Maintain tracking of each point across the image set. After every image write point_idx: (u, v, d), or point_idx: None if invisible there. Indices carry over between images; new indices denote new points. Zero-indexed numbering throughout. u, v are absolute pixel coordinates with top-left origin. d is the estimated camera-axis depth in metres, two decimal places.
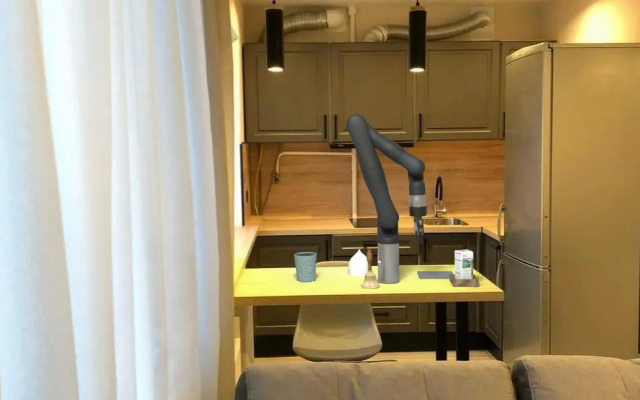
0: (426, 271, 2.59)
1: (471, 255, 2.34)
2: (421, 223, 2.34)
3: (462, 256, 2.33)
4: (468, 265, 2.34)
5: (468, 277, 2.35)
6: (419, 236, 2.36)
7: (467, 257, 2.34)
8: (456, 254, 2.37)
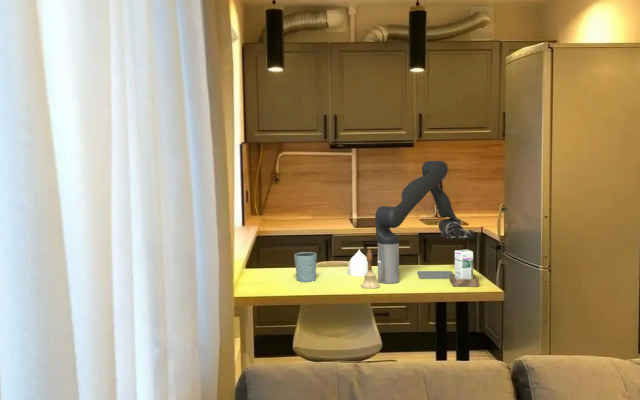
0: (426, 271, 2.59)
1: (471, 255, 2.34)
2: None
3: (462, 256, 2.33)
4: (468, 265, 2.34)
5: (468, 277, 2.35)
6: (470, 233, 2.50)
7: (467, 257, 2.34)
8: (456, 254, 2.37)
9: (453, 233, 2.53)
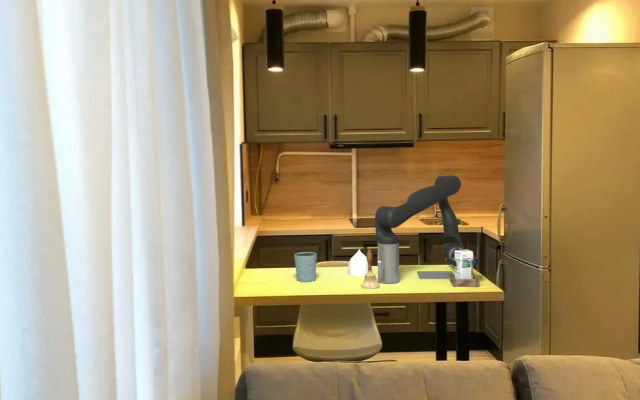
0: (426, 271, 2.59)
1: (471, 255, 2.34)
2: None
3: (462, 256, 2.33)
4: (467, 265, 2.34)
5: (468, 277, 2.35)
6: (475, 261, 2.38)
7: (466, 257, 2.34)
8: (456, 254, 2.37)
9: None
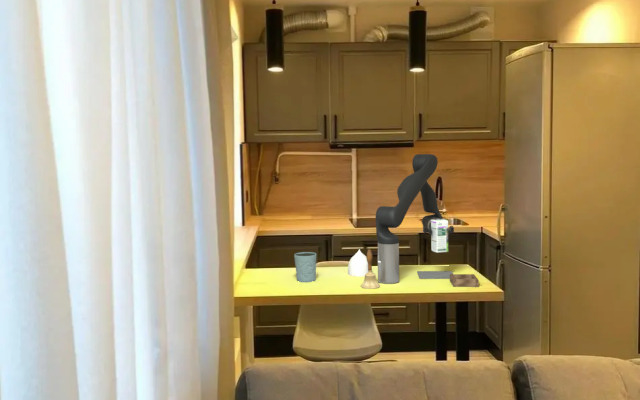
0: (426, 271, 2.59)
1: (446, 224, 2.47)
2: None
3: (438, 224, 2.46)
4: (443, 233, 2.47)
5: (443, 245, 2.47)
6: (450, 230, 2.50)
7: (442, 225, 2.46)
8: (432, 223, 2.50)
9: None
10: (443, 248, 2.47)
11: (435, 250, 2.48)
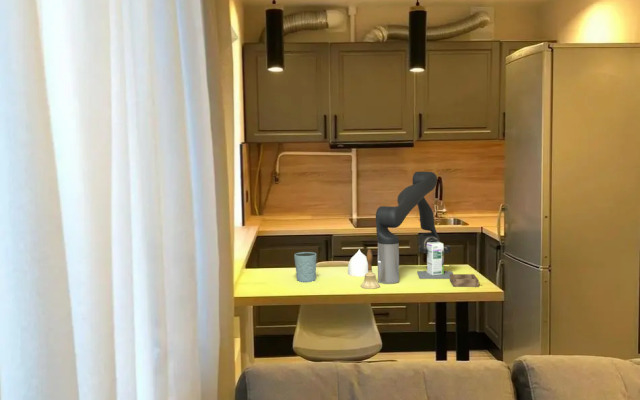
0: (426, 271, 2.59)
1: (441, 247, 2.50)
2: None
3: (433, 247, 2.49)
4: (438, 256, 2.50)
5: (438, 268, 2.51)
6: (447, 249, 2.53)
7: (437, 248, 2.50)
8: (428, 246, 2.53)
9: None
10: (439, 270, 2.51)
11: (431, 273, 2.52)
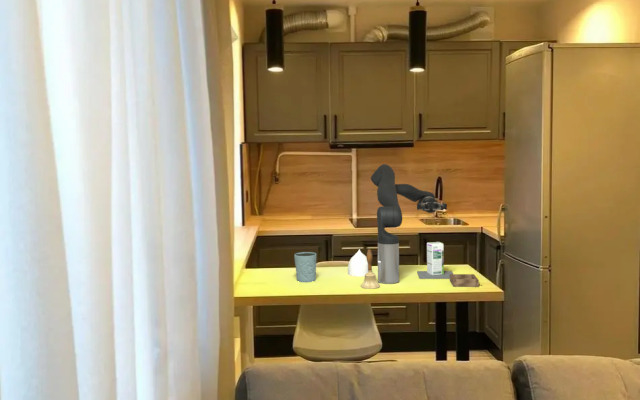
0: (426, 271, 2.59)
1: (441, 247, 2.50)
2: None
3: (433, 247, 2.49)
4: (438, 256, 2.50)
5: (438, 268, 2.51)
6: (443, 206, 2.64)
7: (437, 248, 2.50)
8: (428, 246, 2.53)
9: (427, 206, 2.68)
10: (439, 270, 2.51)
11: (431, 273, 2.52)
